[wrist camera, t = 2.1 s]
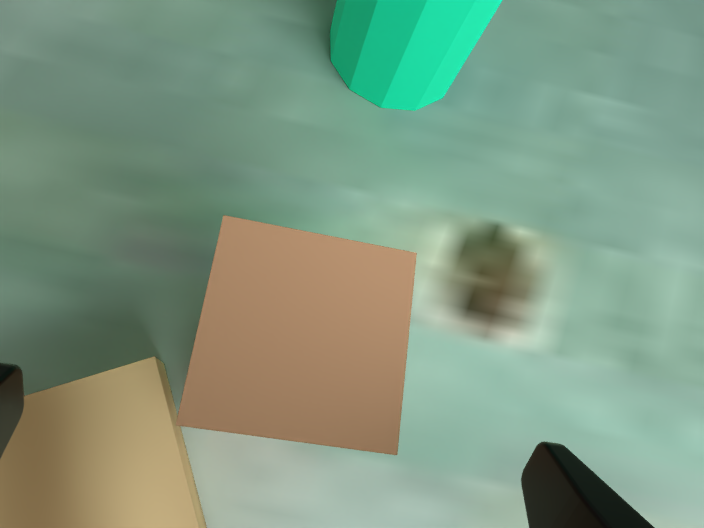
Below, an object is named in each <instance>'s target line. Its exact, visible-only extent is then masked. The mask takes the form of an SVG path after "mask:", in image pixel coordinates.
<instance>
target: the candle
mask: <svg viewBox="0 0 704 528" xmlns="http://www.w3.org/2000/svg"><path fill="white" fill-rule="evenodd" d="M501 2H502V0H337V2H336V7H335V11H334V16H333V20H332V25H331V29H330V50H331V62H332V64H333V65H334V67H335V68H336V70H337V71H338V73H339V74H340V76H341V77H342V79H343V80H344V82H345V83H346V85H347V86H348V88H349V89H350V90H352V91H353V92H355V93H357V94H358V95H360V96H362V97H363V98H365V99H367V100H369V101H370V102H372V103H374V104H375V105H377V106H379V107H380V108H391V109H402V110H414V111H415V110H418V109H420V108H422V107H424V106H426V105H429V104H431V103H433V102H435V101H437V100H439V99H442V98H443V97H444V95H445V94H446V92H447V90H448V89H449V87H450V85H451V84H452V82H453V80H454V79H455V77H456V76H457V74H458V72H459V71H460V69H461V67H462V66H463V64H464V62H465V61H466V59H467V58H468V56H469V54H470V53H471V51H472V49H473V48H474V46H475V44H476V43H477V41H478V40H479V38H480V36H481V35H482V33H483V31H484V30H485V28H486V26H487V25H488V23H489V22H490V20H491V18H492V17H493V15H494V13H495V12H496V10H497V8H498V7H499V5H500V4H501Z"/></svg>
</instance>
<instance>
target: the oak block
mask: <svg viewBox="0 0 704 528" xmlns="http://www.w3.org/2000/svg"><path fill="white" fill-rule="evenodd" d="M177 417H178V416H177V412H176V408H175V404H174V400H173V396H172V393H171V389H170V385H169V381H168V377H167V373H166V370H165V366H164V363H163V362H161V361H160V360H159V359H157V358H156V357H155V356H154V357H151V358H147V359H144V360H141V361H138V362H134V363H131V364H128V365H124V366H121V367H118V368H115V369H111V370H108V371H105V372H101V373H98V374H95V375H92V376H88V377H85V378H82V379H78V380H75V381H72V382H69V383H65V384H62V385H59V386H55V387H52V388H49V389H46V390H42V391H39V392H36V393H32V394H29V395H26V396H24V409H23V413H22V416H21V418H20V421H19V423H18V425H17V427H16V429H15V431H14V433H13V435H12V437H11V439H10V441H9V443H8V445H7V447H6V449H5V451H4V453H3V455H2V457H1V459H0V528H207V527H206V523H205V519H204V515H203V511H202V508H201V504H200V500H199V496H198V492H197V488H196V485H195V481H194V477H193V473H192V469H191V465H190V462H189V458H188V454H187V450H186V446H185V442H184V439H183V435H182V431H181V427H180V426H178V425H176V421H177Z"/></svg>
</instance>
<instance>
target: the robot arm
mask: <svg viewBox="0 0 704 528" xmlns="http://www.w3.org/2000/svg"><path fill="white" fill-rule="evenodd" d="M23 409H24V392H23V377H22V370H21V368H20V367H19V366H17V365H13V364H7V363H0V459H1V457H2V455H3V453H4V451H5V449H6V447H7V445H8V443H9V441H10V439H11V437H12V435H13V433H14V431H15V429H16V427H17V425H18V423H19V421H20V418H21V416H22V413H23ZM521 483H522V490H523V496H524V501H525V507H526V512H527V518H528V523H529V528H654V527H653V526H652V525H651V524H650V523H649V522H648V521H647V520H645V519H644V518H643V517H642V516H641V515H640V514H639V513H638V512H637V511H636V510H634V509H633V508H632V507H631V506H630V505H629V504H628V503H627V502H626V501H625V500H623V499H622V498H621V497H620V496H619V495H618V494H617V493H616V492H615V491H614V490H612V489H611V488H610V487H609V486H608V485H607V484H606V483H605V482H604V481H603V480H601V479H600V478H599V477H598V476H597V475H596V474H595V473H594V472H593V471H592V470H590V469H589V468H588V467H587V466H586V465H585V464H584V463H583V462H582V461H581V460H579V459H578V458H577V457H576V456H575V455H574V454H573V453H572V452H571V451H570V450H568V449H567V448H566V447H565V446H564V445H561V444H558V443H551V442H541V443H539V444H538V445H537V446H536V448H535V450H534V452H533V453H532V455H531V457H530V459H529V461H528V463H527V464H526V466H525V468H524V470H523V473H522V478H521Z"/></svg>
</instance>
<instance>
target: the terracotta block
mask: <svg viewBox="0 0 704 528" xmlns="http://www.w3.org/2000/svg"><path fill="white" fill-rule="evenodd" d="M416 255H417V253H414V252H409V251H404V250H399V249H394V248H389V247H384V246H378V245H373V244H368V243H363V242H358V241H353V240H348V239H343V238H338V237H332V236H327V235H322V234H317V233H312V232H307V231H302V230H297V229H292V228H286V227H281V226H276V225H271V224H266V223H261V222H256V221H251V220H246V219H241V218H235V217H230V216H225V215H223V220H222V224H221V228H220V233H219V237H218V241H217V246H216V250H215V255H214V259H213V263H212V268H211V272H210V277H209V281H208V285H207V290H206V294H205V298H204V303H203V307H202V312H201V316H200V320H199V325H198V329H197V333H196V338H195V342H194V347H193V351H192V355H191V360H190V364H189V368H188V373H187V377H186V382H185V386H184V390H183V395H182V399H181V404H180V408H179V412H178V417H177V421H176V425H178V426H185V427H193V428H200V429H208V430H215V431H222V432H230V433H237V434H244V435H252V436H259V437H267V438H274V439H281V440H289V441H296V442H303V443H311V444H318V445H326V446H333V447H340V448H348V449H355V450H362V451H370V452H377V453H385V454H392V455H397V451H398V441H399V431H400V420H401V410H402V400H403V389H404V379H405V369H406V358H407V348H408V337H409V327H410V317H411V306H412V296H413V286H414V275H415V265H416Z"/></svg>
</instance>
